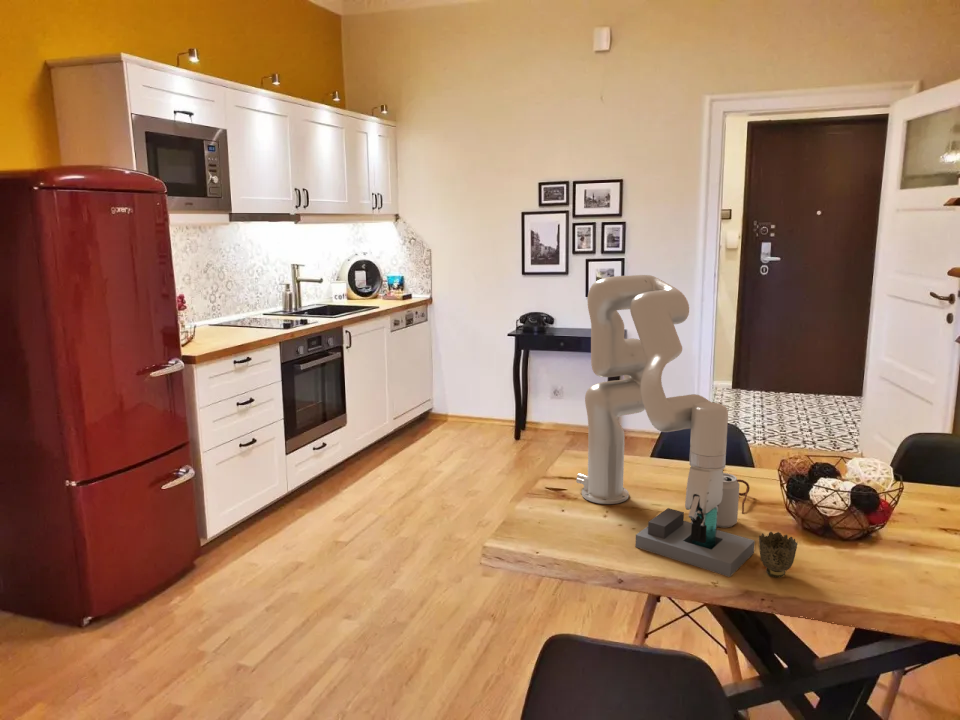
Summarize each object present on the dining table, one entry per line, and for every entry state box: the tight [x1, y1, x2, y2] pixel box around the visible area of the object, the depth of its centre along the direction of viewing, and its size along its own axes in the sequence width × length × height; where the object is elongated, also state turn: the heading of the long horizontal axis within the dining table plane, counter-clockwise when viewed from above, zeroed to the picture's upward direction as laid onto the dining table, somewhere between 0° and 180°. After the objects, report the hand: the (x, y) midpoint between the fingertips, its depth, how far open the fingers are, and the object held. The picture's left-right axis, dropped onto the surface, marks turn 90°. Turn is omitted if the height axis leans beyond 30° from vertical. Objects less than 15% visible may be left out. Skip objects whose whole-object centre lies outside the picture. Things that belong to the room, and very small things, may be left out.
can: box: [717, 472, 740, 529], centre depth 173 cm, size 8×8×12 cm
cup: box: [758, 531, 798, 578], centre depth 148 cm, size 8×7×8 cm
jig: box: [634, 507, 756, 578], centre depth 160 cm, size 22×14×6 cm, turn 50°
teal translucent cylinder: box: [692, 507, 717, 550], centre depth 158 cm, size 5×5×9 cm
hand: (703, 535), depth 158 cm, fingers closed on teal translucent cylinder, 4 cm apart
